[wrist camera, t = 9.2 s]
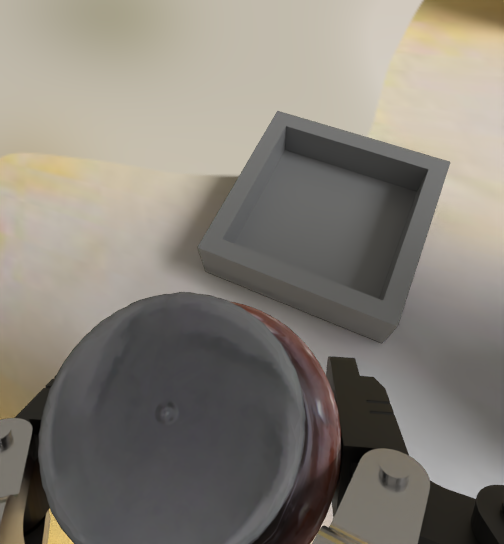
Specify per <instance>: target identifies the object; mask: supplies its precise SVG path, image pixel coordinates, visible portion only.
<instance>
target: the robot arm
mask: <svg viewBox="0 0 504 544" xmlns="http://www.w3.org/2000/svg"><path fill="white" fill-rule="evenodd" d="M56 376H57V375H56ZM56 376H55V378H56ZM326 377H327V379H328V381H329V384H330V386H331V389H332V392H333V394H334V399H335V402H336V404H337V408H338V413H339V420H340V427H341V440H342V450H341V463H340V472H339V478H338V481H337V487H336V490H335V493H334V496H333V499H332V508H333V521H332V523H331V525H330V527H329V528H328V527H326V526H322V527H321V529H320V530H319V532H318V533H317V535H316V537H315V539H314V541H313V543H312V544H504V485H490V486H487V487H485V488H483V489H481V490H480V492H479V493H478V495H477V498H476V499H474V498H471V497H468V496H465V495H462V494H459V493H456V492H453V491H450V490H448V489H445V488H443V487H441V486H439V485H437V484H435V483H433V482H432V481H430V479H429V477H428V474H427V472H426V471H425V469H424V468H423V467H422V466H421V465H420V464H419V463H418V462H417V461H416V460H415V459H413V458H412V457H410V456H409V454H408V451H407V449H406V446H405V443H404V440H403V437H402V435H401V432H400V429H399V426H398V423H397V421H396V418H395V415H394V412H393V409H392V407H391V404H390V401H389V398H388V395H387V393H386V390H385V388H384V387H383V386H382V385H381V384H380V383H379V382H378V381H377V380H376V379H375V378H374V377H366V376H360V375H359V372H358V368H357V364H356V361H355V358H344V357H328V362H327V372H326ZM54 380H55V379H52V380H51V381H50V382H49V383H48V384H47V385H46V388H43V389H42V390H41V391H40V392H39V393H38V394H37V395H36V397H35V398H34V399H33V400H32V401H31V402H30V403H29V404H28V405H27V406H26V407H25V408H24V409H23V410H22V411H21V412H20V413H19V414H18V415H17V416H16V417H15V418H8V419H2V420H0V544H48V536H49V528H50V514H49V508H50V506H49V504H48V501H47V497H46V493H45V491H44V489H43V486H42V480H41V474H40V464H39V458H38V448H39V432H40V426H41V418H42V415H43V409H44V406H45V403H46V400H47V397H48V394H49V390H50V388H51V386H52V385H53V382H54Z"/></svg>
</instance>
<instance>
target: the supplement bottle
mask: <svg viewBox="0 0 504 544" xmlns="http://www.w3.org/2000/svg"><path fill="white" fill-rule="evenodd" d="M341 450H342V440H341V427H340V420H339V413H338V408H337V404H336V402H335V399H334V394H333V392H332V389H331V386H330V384H329V381H328V379H327V377H326V375H325V373H324V371H323V369H322V367H321V365H320V364H319V362H318V361H317V359H316V357H315V356H314V354H313V353H312V352H311V350H310V349H309V348H308V346H307V345H306V344H305V343H304V342H303V341H302V340H301V339H300V338H299V337H298V336H297V335H296V334H295V333H294V332H293V331H292V330H291V329H290V328H288V327H287V326H286V325H285V324H283V323H281V322H280V321H279V320H277V319H275V318H273V317H272V316H270V315H268V314H266V313H264V312H262V311H260V310H257V309H255V308H252V307H249V306H246V305H243V304H239V303H235V302H229V301H226V300H224V299H221V298H216V297H213V296H210V295H203V294H195V293H190V292H179V293H174V294H163V295H158V296H153V297H149V298H145V299H142V300H139V301H136V302H134V303H132V304H130V305H128V306H127V307H125V308H123V309H121V310H119V311H117V312H115V313H114V314H112V315H111V316H109V317H108V318H106V319H104V320H103V321H101V322H100V323H99V324H98V325H97V326H95V327H94V328H93V329H92V330H91V332H89V333H88V334H87V335H86V336H85V337H84V338H83V339H82V340H81V341H80V342H79V344H78V345H77V346H76V347H75V348H74V349H73V350H72V352H71V353H70V355H69V356H68V357H67V359H66V360H65V361H64V363H63V365H62V367H61V368H60V370H59V372H58V374H57V376H56V378H55V380H54V382H53V385H52V386H51V388H50V390H49V394H48V397H47V400H46V403H45V406H44V409H43V415H42V418H41V426H40V432H39V448H38V458H39V464H40V474H41V480H42V486H43V489H44V491H45V493H46V497H47V501H48V504H49V506H50V509H51V512H52V514H53V516H54V517H55V519H56V520H57V522H58V524H59V525H60V527H61V529H62V530H63V531H64V532H65V533H66V535H67V536H68V537H69V538H70V539H71V540H72V542H73V543H74V544H310V543H311V542H312V541H313V539H314V537H315V536H316V534H317V533H318V531H319V529H320V527H321V525H322V523H323V521H324V519H325V517H326V515H327V512H328V510H329V507H330V504H331V501H332V499H333V496H334V493H335V490H336V487H337V481H338V478H339V472H340V463H341Z"/></svg>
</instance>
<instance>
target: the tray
mask: <svg viewBox="0 0 504 544" xmlns="http://www.w3.org/2000/svg"><path fill="white" fill-rule="evenodd" d="M449 165H450V162H449V161H446V160H442V159H439V158H435V157H432V156H429V155H425V154H422V153H419V152H415V151H412V150H408V149H405V148H402V147H398V146H395V145H392V144H388V143H385V142H381V141H378V140H375V139H371V138H368V137H364V136H361V135H358V134H354V133H351V132H348V131H344V130H341V129H337V128H334V127H331V126H327V125H324V124H320V123H317V122H314V121H310V120H307V119H303V118H300V117H297V116H293V115H290V114H287V113H283V112H280V111H277V112H276V114H275V116H274V118H273V119H272V121H271V123H270V124H269V126H268V128H267V130H266V131H265V133H264V135H263V136H262V138H261V140H260V142H259V143H258V145H257V147H256V148H255V150H254V152H253V154H252V155H251V157H250V159H249V160H248V162H247V164H246V166H245V167H244V169H243V171H242V172H241V174H240V176H239V177H238V179H237V181H236V182H235V184H234V186H233V188H232V189H231V191H230V193H229V194H228V196H227V198H226V200H225V201H224V203H223V205H222V206H221V208H220V210H219V211H218V213H217V215H216V217H215V218H214V220H213V222H212V223H211V225H210V227H209V229H208V230H207V232H206V234H205V235H204V237H203V239H202V241H201V242H200V244H199V246H198V247H197V248H198V251H199V254H200V257H201V260H202V263H203V265H204V268H205V271H206V272H208V273H211V274H213V275H216V276H218V277H221V278H223V279H225V280H228V281H230V282H233V283H235V284H238V285H240V286H243V287H245V288H248V289H250V290H252V291H255V292H257V293H260V294H262V295H265V296H267V297H270V298H272V299H275V300H277V301H279V302H282V303H284V304H287V305H289V306H292V307H294V308H297V309H299V310H302V311H304V312H306V313H309V314H311V315H314V316H316V317H319V318H321V319H324V320H326V321H328V322H331V323H333V324H336V325H338V326H341V327H343V328H346V329H348V330H351V331H353V332H355V333H358V334H360V335H363V336H365V337H368V338H370V339H373V340H375V341H378V342H380V343H383V342H384V341H385V340H386V339H387V338H388V337H389V336H390V334H391V333H392V332H393V331H394V330H395V329H396V328H397V327H398V324H399V321H400V318H401V314H402V311H403V308H404V305H405V302H406V299H407V296H408V293H409V290H410V286H411V283H412V280H413V277H414V274H415V271H416V268H417V265H418V262H419V258H420V255H421V252H422V249H423V246H424V243H425V240H426V237H427V233H428V230H429V227H430V224H431V221H432V218H433V215H434V212H435V209H436V205H437V202H438V199H439V196H440V193H441V190H442V187H443V184H444V180H445V177H446V174H447V171H448V168H449Z"/></svg>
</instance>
